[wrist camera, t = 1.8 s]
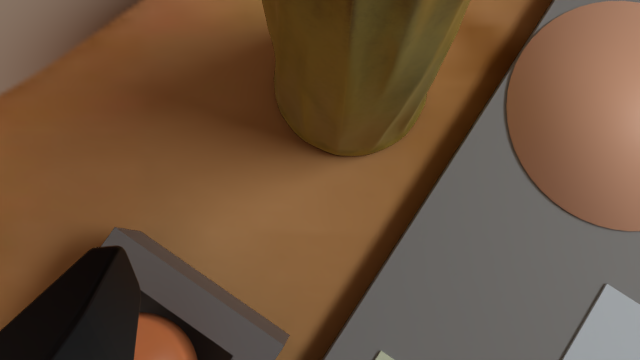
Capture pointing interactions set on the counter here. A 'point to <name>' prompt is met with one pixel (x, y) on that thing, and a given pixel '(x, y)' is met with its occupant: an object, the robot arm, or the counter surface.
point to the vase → (357, 66)
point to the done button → (161, 340)
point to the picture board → (527, 214)
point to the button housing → (197, 303)
